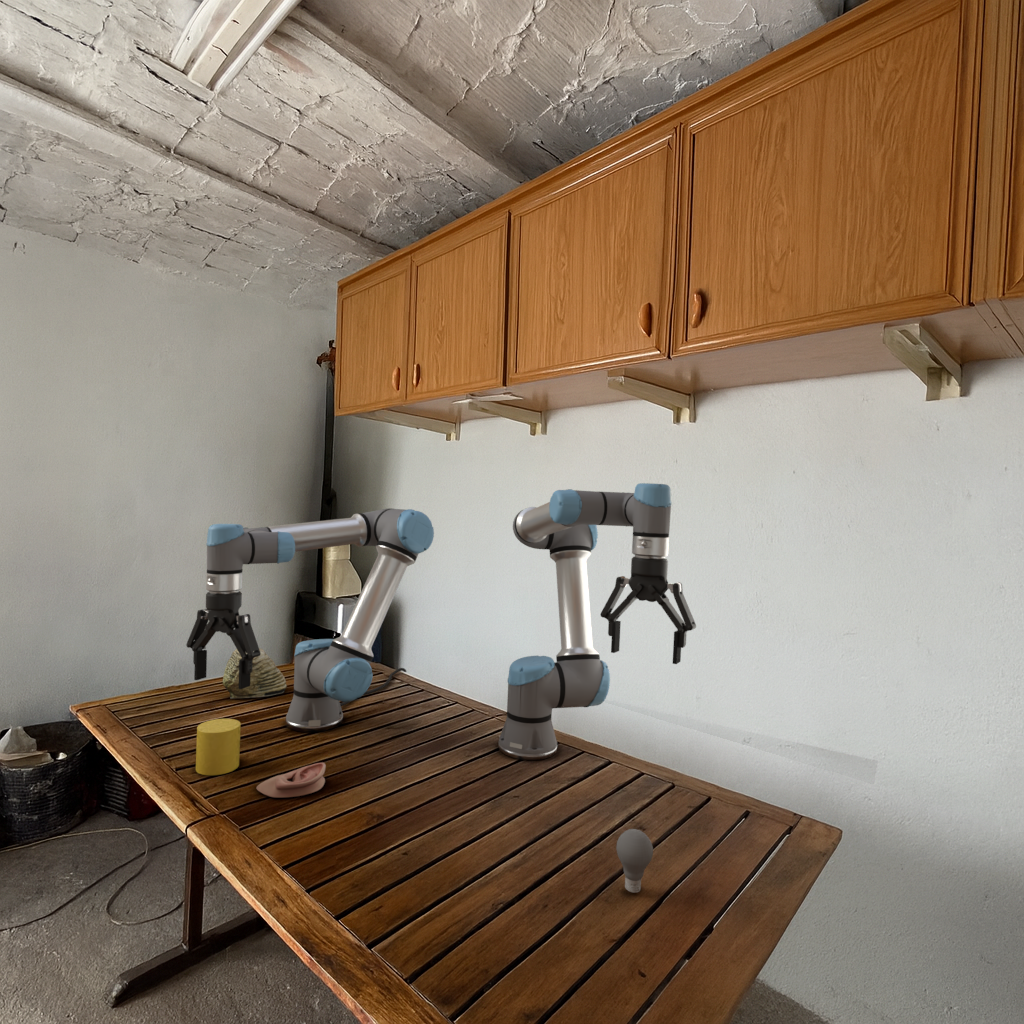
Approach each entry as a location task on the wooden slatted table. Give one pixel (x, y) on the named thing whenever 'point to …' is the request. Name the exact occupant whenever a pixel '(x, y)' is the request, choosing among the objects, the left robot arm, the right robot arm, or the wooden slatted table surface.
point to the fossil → (254, 677)
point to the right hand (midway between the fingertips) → (644, 657)
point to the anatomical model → (295, 782)
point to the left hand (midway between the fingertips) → (221, 683)
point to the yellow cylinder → (218, 746)
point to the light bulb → (634, 857)
